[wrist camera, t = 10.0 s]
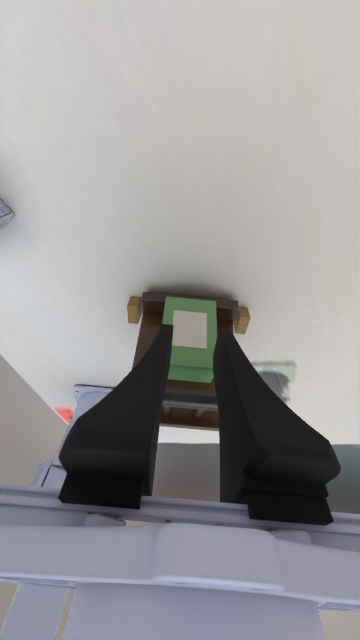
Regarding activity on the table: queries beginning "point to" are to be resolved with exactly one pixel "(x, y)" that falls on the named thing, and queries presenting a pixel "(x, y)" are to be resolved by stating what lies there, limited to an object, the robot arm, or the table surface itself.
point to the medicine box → (5, 214)
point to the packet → (191, 338)
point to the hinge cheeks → (239, 323)
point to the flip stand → (182, 396)
